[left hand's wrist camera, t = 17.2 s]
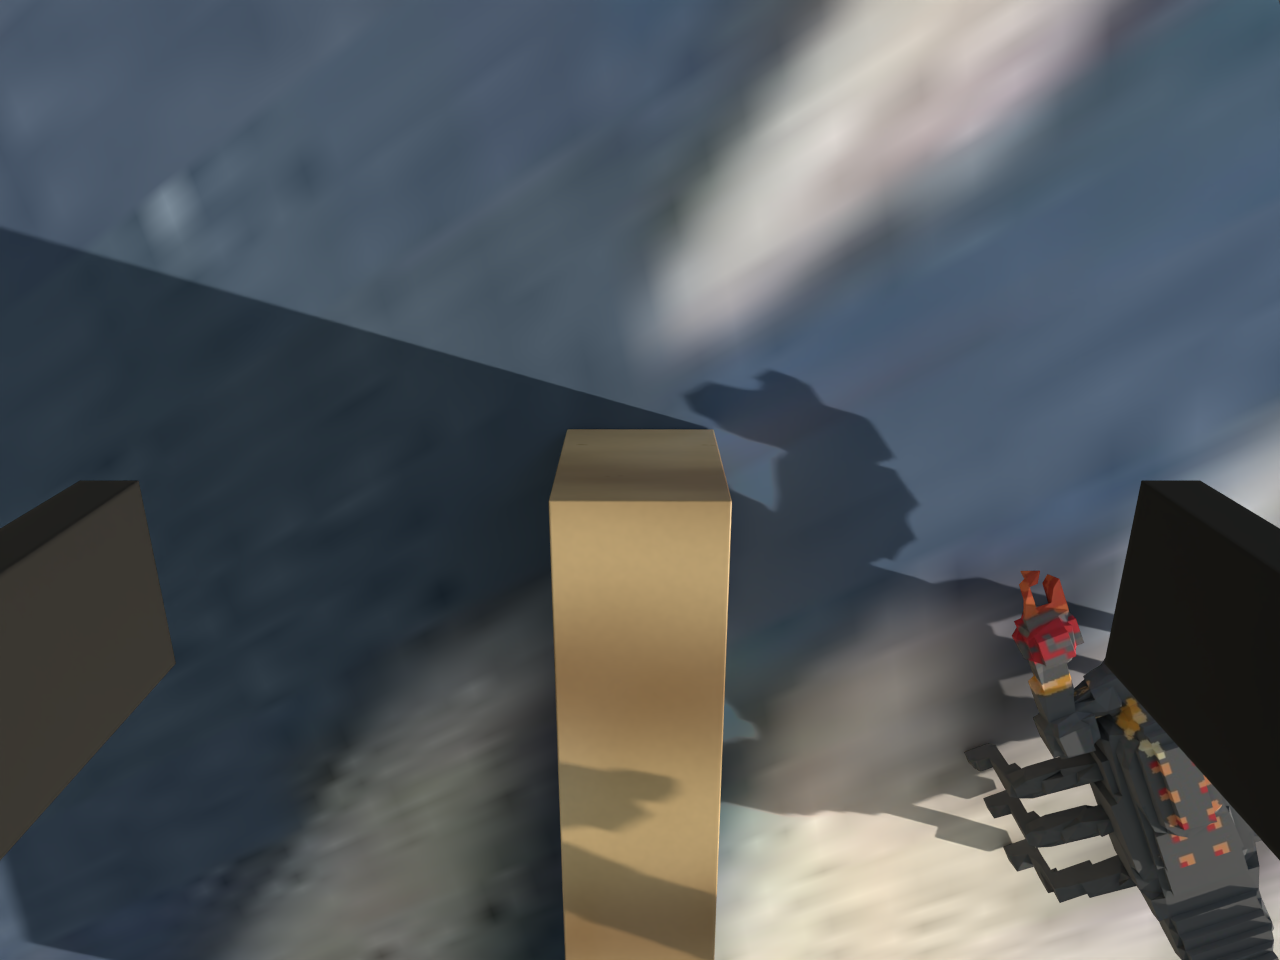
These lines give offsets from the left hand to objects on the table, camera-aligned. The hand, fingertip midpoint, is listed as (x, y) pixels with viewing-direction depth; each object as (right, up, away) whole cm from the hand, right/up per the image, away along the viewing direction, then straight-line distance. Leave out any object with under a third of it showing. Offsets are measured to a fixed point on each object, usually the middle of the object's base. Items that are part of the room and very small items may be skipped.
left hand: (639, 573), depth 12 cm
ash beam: (0, -14, +31) cm, 34 cm away
